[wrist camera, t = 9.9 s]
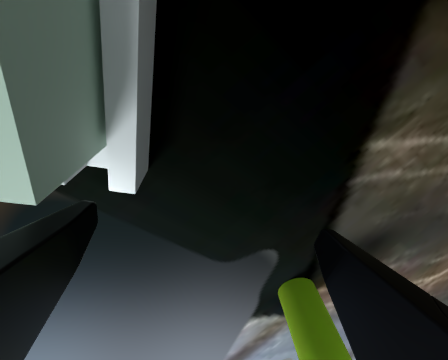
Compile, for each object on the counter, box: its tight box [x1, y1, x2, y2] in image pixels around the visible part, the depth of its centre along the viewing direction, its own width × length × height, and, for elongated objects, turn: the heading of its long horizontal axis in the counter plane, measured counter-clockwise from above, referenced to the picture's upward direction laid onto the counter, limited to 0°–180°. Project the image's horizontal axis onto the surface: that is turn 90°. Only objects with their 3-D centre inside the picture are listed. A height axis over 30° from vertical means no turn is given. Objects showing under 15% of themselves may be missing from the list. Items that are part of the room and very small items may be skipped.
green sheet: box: [0, 0, 107, 205], centre depth 11 cm, size 2×10×10 cm, turn 168°
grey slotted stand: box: [62, 0, 157, 194], centre depth 15 cm, size 7×16×4 cm, turn 168°
